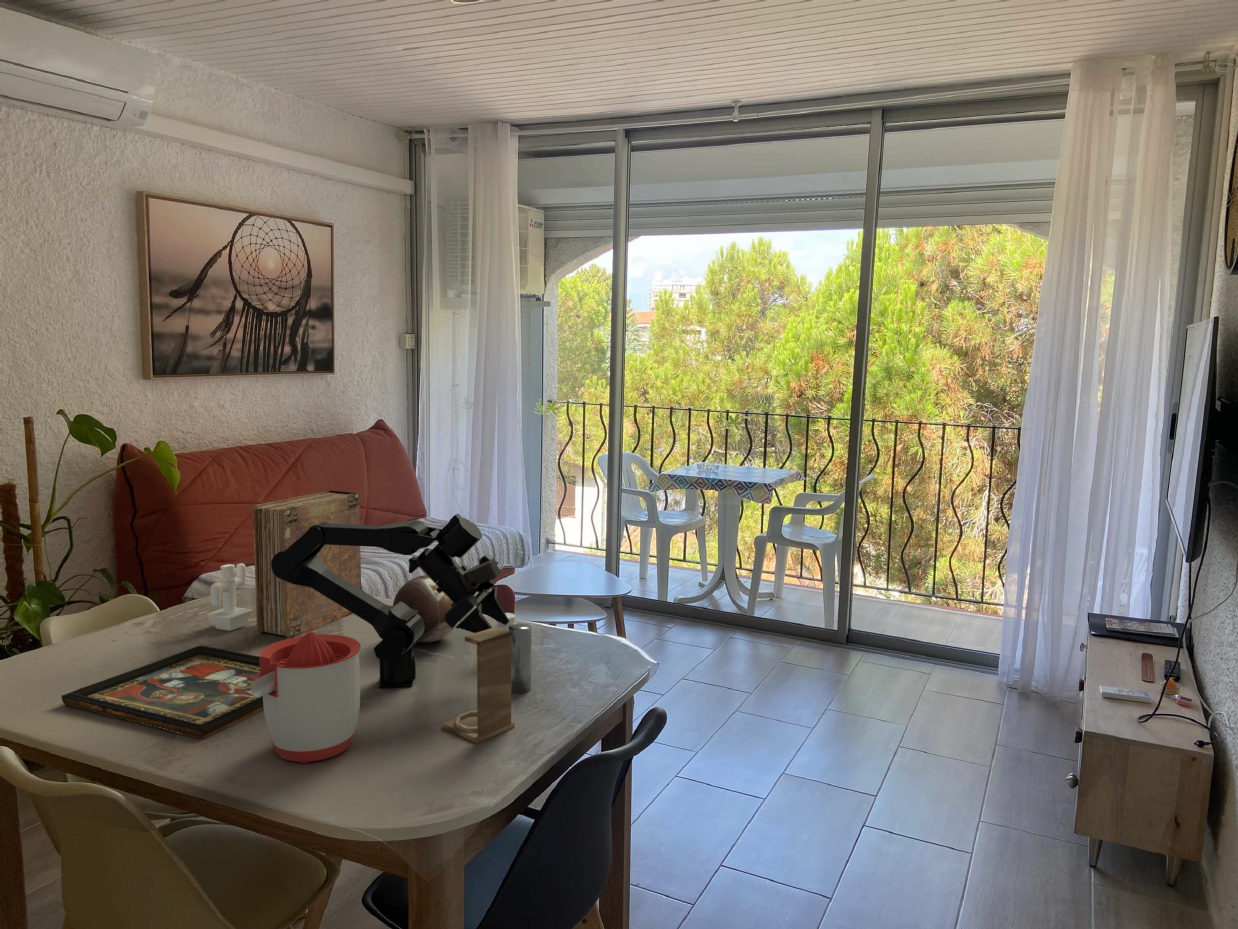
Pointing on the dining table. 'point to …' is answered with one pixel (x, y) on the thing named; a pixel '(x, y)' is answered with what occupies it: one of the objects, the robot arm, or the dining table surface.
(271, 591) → the book
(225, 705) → the framed icon painting
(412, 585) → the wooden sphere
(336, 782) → the dining table surface
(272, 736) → the citrus juicer
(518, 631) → the metal tin
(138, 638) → the dining table surface
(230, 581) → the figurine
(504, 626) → the supplement bottle
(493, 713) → the ledge stand
